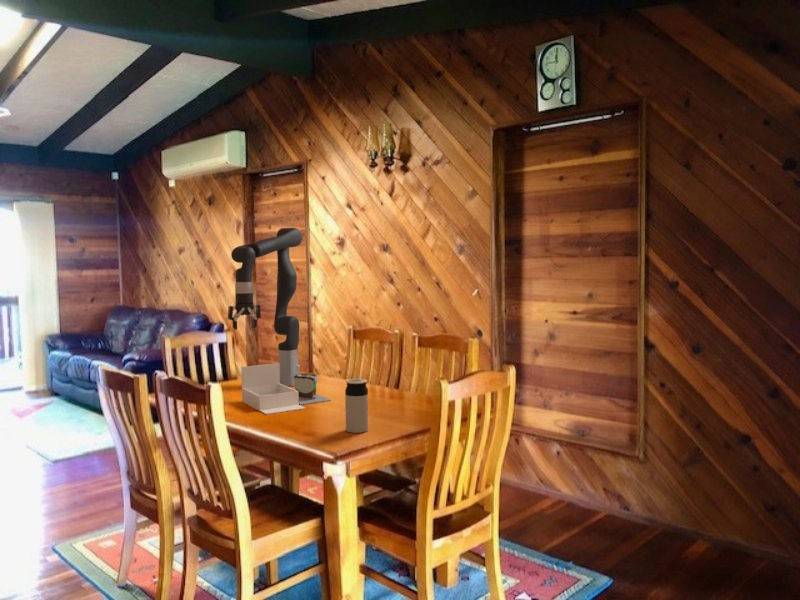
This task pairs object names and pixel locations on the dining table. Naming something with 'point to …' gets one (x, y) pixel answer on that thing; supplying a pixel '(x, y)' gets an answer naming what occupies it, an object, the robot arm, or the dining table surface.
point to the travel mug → (356, 405)
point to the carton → (267, 390)
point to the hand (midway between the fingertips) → (244, 328)
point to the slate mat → (317, 399)
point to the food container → (306, 385)
